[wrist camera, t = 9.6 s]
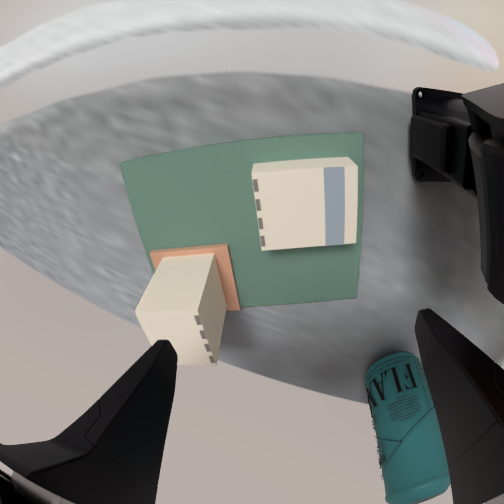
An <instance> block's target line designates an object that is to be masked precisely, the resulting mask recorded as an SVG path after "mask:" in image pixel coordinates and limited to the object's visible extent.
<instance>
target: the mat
mask: <svg viewBox="0 0 504 504" xmlns="http://www.w3.org/2000/svg"><path fill="white" fill-rule="evenodd" d="M333 157H349V158H350V159H351V160H352V161H353V162H354V163H355V164H356V165H357V166H358V207H357V235H356V243H351V244H343V245H331V246H314V247H302V248H290V249H278V250H265V251H262V250H261V242H260V234H259V227H258V219H257V212H256V204H255V197H254V190H253V182H252V175H251V173H252V168H253V164H255V163H265V162H276V161H287V160H300V159H315V158H333ZM120 167H121V171H122V175H123V179H124V182H125V186H126V190H127V193H128V197H129V200H130V204H131V207H132V210H133V214H134V217H135V220H136V223H137V227H138V230H139V233H140V236H141V239H142V242H143V245H144V248H145V251H146V254H147V257H148V260H149V263H150V265H151V268H152V271H153V274H154V273H155V268H154V265H153V262H152V259H151V256H150V252H151V250H162V249H173V248H184V247H195V246H206V245H217V244H228V246H229V251H230V257H231V262H232V267H233V272H234V277H235V282H236V287H237V292H238V297H239V302H240V306H241V307H251V306H267V305H281V304H295V303H307V302H318V301H329V300H339V299H349V298H356V294H357V285H358V275H359V263H360V250H361V234H362V213H363V134H362V133H326V134H307V135H293V136H281V137H270V138H260V139H251V140H242V141H234V142H227V143H220V144H213V145H206V146H200V147H194V148H188V149H183V150H177V151H172V152H167V153H162V154H157V155H152V156H147V157H142V158H138V159H134V160H129V161H125V162H122V163H120Z"/></svg>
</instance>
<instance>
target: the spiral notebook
mask: <svg viewBox="0 0 504 504" xmlns="http://www.w3.org/2000/svg"><path fill="white" fill-rule="evenodd" d="M251 175H252V182H253V190H254V197H255V204H256V212H257V219H258V227H259V234H260V242H261V250H262V251H265V250H278V249H290V248H302V247H314V246H331V245H343V244H351V243H356V235H357V207H358V166H357V165H356V164H355V163H354V162H353V161H352V160H351V159H350V158H349V157H333V158H315V159H300V160H287V161H276V162H265V163H255V164H253V168H252V173H251Z"/></svg>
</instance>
